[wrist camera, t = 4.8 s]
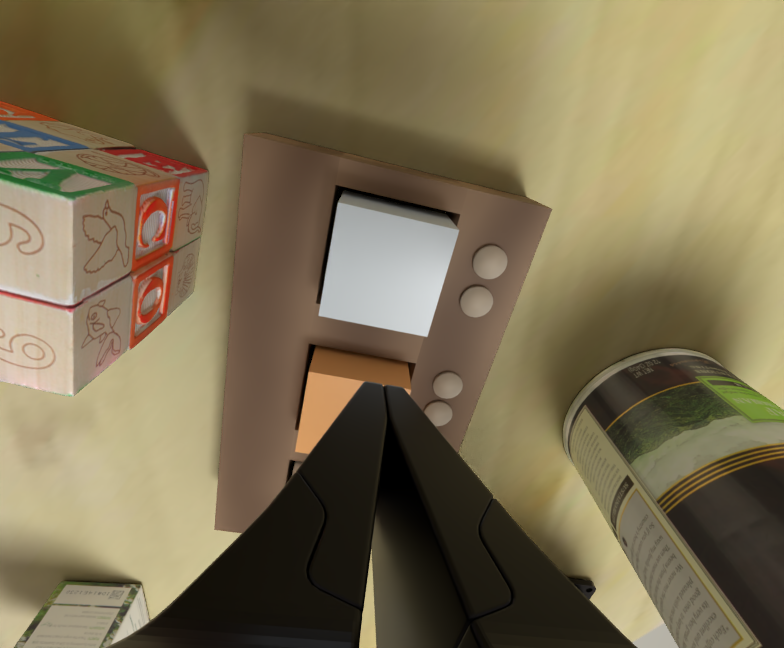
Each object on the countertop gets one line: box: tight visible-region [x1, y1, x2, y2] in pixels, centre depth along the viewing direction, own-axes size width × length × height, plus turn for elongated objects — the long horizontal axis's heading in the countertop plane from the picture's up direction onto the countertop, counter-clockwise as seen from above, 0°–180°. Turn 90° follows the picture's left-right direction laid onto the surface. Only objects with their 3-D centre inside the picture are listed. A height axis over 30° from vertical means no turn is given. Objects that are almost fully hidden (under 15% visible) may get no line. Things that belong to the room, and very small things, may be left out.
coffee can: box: [563, 348, 784, 648], centre depth 19 cm, size 10×10×14 cm
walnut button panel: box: [214, 133, 552, 549], centre depth 21 cm, size 12×21×3 cm, turn 167°
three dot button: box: [295, 345, 411, 454], centre depth 20 cm, size 4×4×3 cm
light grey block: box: [318, 190, 459, 337], centre depth 17 cm, size 4×4×3 cm
